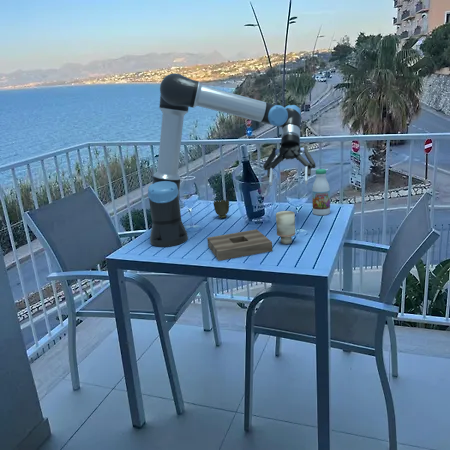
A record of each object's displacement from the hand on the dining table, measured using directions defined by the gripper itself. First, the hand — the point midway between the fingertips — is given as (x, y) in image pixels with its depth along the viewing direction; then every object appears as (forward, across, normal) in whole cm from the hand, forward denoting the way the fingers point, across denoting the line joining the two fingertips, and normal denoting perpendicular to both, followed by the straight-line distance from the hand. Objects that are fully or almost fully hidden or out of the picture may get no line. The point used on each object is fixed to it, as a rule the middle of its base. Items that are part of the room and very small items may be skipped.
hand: (288, 183), depth 157 cm
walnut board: (+27, +17, -1) cm, 32 cm away
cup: (0, +34, -29) cm, 44 cm away
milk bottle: (-5, -11, -34) cm, 36 cm away
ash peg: (+22, 0, -7) cm, 23 cm away
